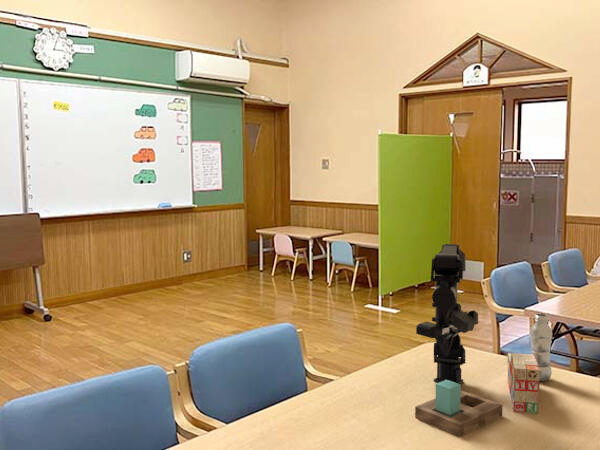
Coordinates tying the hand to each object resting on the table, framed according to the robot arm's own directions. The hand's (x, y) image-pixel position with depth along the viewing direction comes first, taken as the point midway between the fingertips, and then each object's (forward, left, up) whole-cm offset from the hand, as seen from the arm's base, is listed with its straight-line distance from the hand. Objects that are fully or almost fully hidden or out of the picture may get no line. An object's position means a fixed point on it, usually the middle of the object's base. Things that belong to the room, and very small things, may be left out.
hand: (445, 355), depth 162 cm
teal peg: (+9, -11, -13) cm, 19 cm away
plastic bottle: (+9, +34, -13) cm, 38 cm away
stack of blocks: (+13, +18, -13) cm, 26 cm away
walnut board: (+9, -6, -13) cm, 17 cm away
